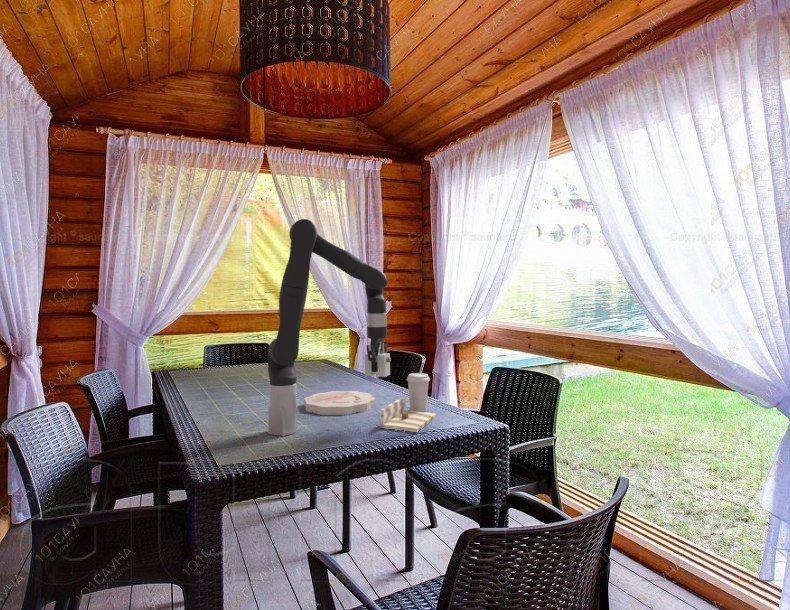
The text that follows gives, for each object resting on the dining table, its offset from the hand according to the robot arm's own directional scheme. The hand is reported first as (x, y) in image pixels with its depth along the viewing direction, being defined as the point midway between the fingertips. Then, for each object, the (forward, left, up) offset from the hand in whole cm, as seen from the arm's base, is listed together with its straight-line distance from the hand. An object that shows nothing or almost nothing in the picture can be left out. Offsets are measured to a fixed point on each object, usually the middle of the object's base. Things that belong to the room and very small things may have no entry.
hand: (377, 370), depth 184 cm
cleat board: (+5, -11, -20) cm, 23 cm away
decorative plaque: (+18, +26, -21) cm, 38 cm away
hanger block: (0, 0, -2) cm, 2 cm away
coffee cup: (+23, -8, -20) cm, 32 cm away
